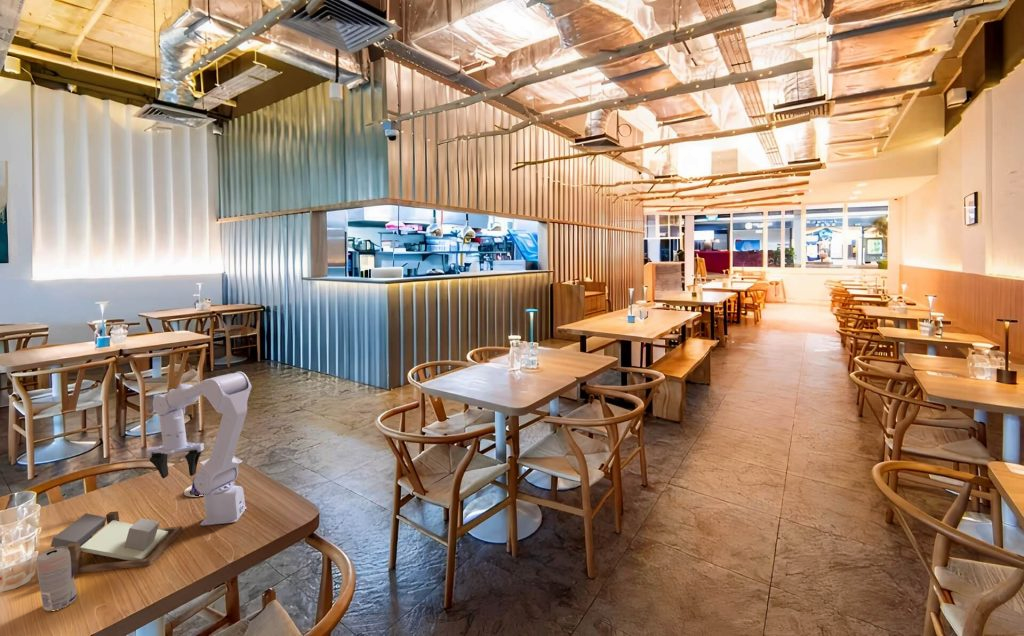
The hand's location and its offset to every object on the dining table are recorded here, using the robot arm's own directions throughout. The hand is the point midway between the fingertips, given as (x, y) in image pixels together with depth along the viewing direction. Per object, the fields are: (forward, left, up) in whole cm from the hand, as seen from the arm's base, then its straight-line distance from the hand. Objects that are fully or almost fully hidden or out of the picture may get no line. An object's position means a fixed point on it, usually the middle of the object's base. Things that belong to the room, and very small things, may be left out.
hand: (179, 475), depth 142 cm
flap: (+7, +21, -8) cm, 23 cm away
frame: (+6, +20, -10) cm, 24 cm away
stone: (0, +22, -8) cm, 23 cm away
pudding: (-1, -12, -11) cm, 16 cm away
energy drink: (+6, +39, -11) cm, 41 cm away
